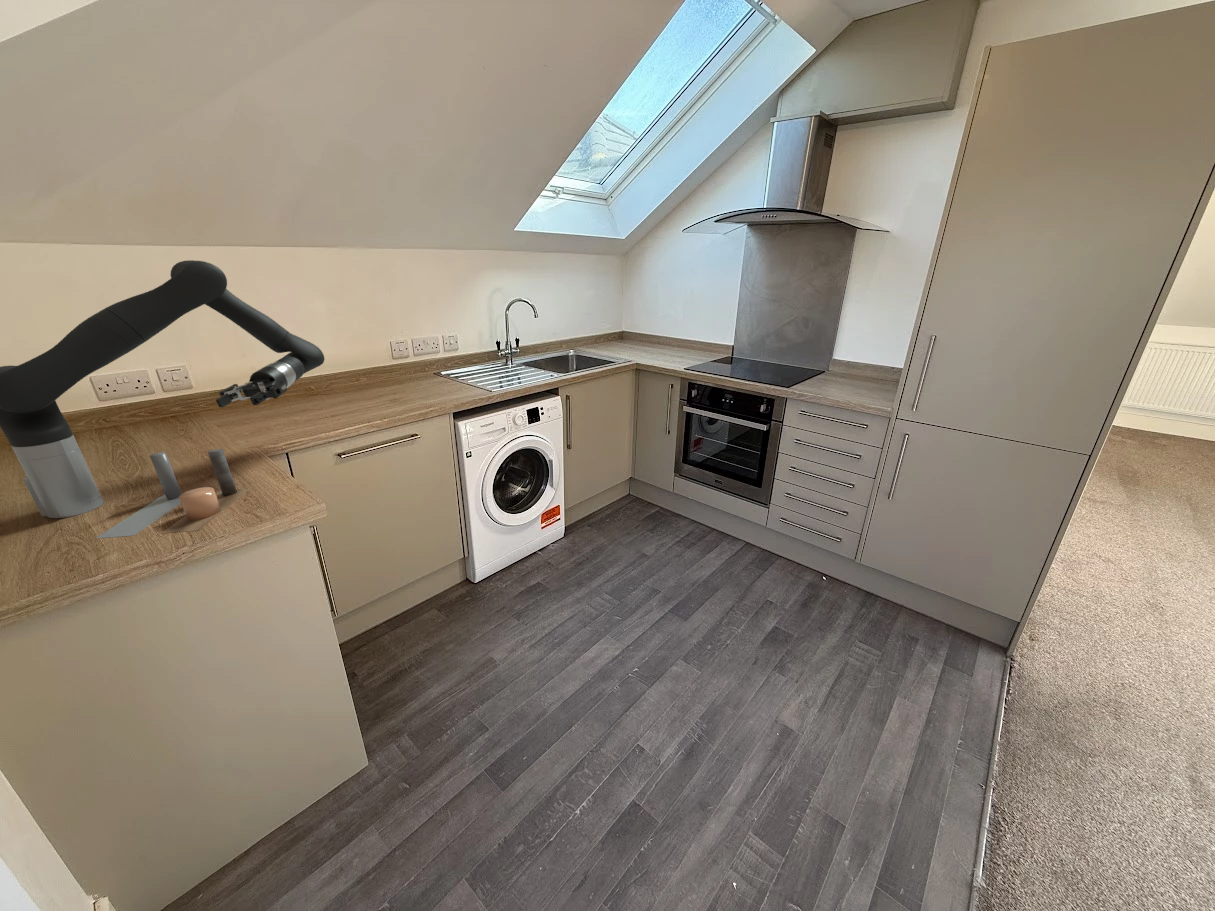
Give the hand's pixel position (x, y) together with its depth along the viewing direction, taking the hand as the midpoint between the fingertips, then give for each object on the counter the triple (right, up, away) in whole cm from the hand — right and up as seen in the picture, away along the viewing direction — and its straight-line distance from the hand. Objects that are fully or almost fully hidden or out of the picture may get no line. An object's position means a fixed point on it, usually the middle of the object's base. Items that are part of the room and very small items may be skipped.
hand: (236, 402), depth 118 cm
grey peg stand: (-10, -27, -11) cm, 31 cm away
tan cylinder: (+2, -26, -12) cm, 29 cm away
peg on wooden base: (+2, -26, -10) cm, 28 cm away
